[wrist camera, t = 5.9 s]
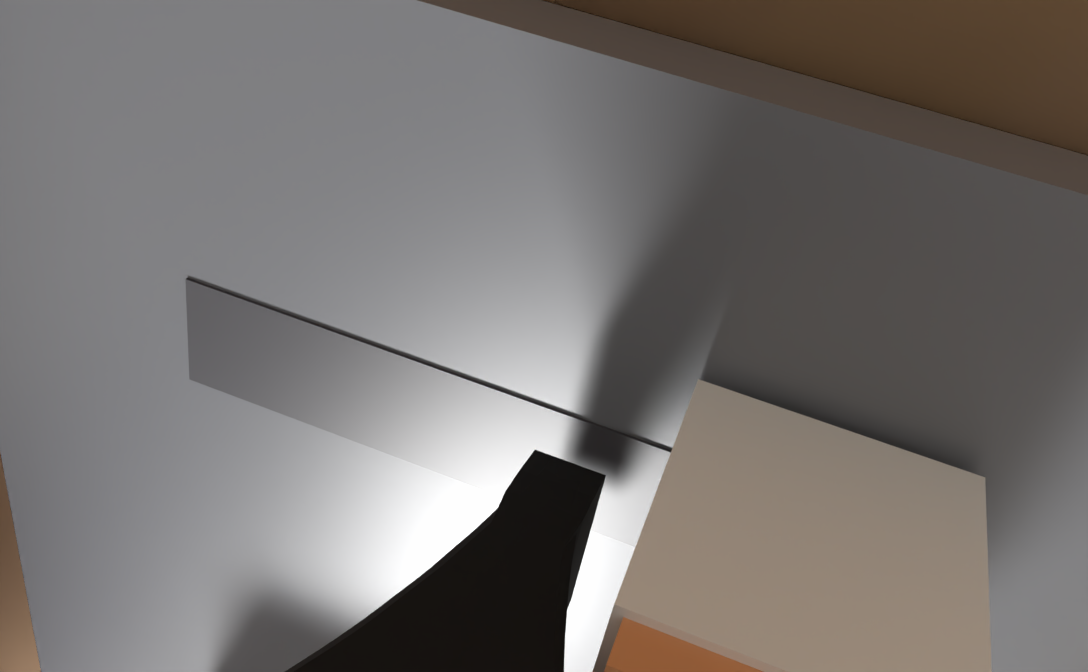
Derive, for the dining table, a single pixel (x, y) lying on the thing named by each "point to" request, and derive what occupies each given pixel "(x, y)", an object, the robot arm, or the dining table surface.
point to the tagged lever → (801, 553)
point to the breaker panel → (484, 307)
